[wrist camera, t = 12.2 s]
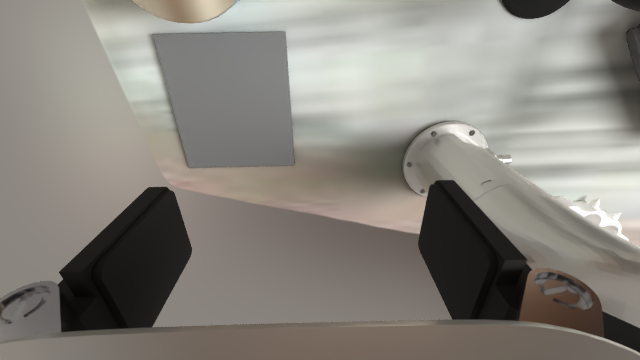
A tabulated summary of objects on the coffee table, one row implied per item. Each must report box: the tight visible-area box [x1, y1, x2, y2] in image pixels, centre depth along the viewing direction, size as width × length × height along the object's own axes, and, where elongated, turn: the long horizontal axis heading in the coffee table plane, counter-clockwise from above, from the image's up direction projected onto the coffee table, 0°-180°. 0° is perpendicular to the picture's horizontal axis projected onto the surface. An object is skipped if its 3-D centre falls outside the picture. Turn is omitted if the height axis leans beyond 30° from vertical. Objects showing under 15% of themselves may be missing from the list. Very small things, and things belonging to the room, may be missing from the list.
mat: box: [153, 32, 294, 168], centre depth 38 cm, size 16×18×1 cm
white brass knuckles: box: [554, 196, 629, 241], centre depth 49 cm, size 3×18×15 cm
